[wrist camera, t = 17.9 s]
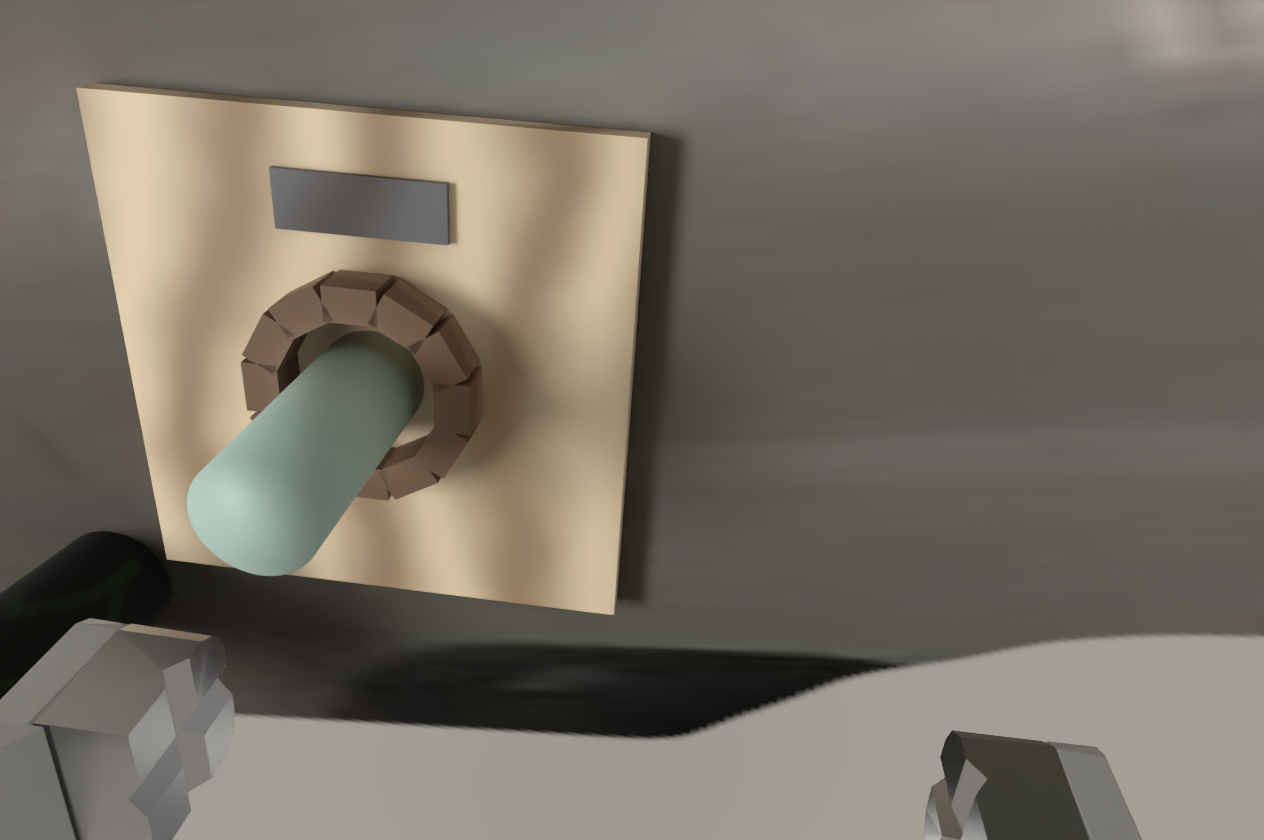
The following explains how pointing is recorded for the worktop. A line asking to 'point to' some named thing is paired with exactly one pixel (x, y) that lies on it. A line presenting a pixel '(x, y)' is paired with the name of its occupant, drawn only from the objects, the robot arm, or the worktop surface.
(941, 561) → the worktop surface
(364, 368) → the peg
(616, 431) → the socket board
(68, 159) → the worktop surface
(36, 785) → the robot arm
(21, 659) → the cup
